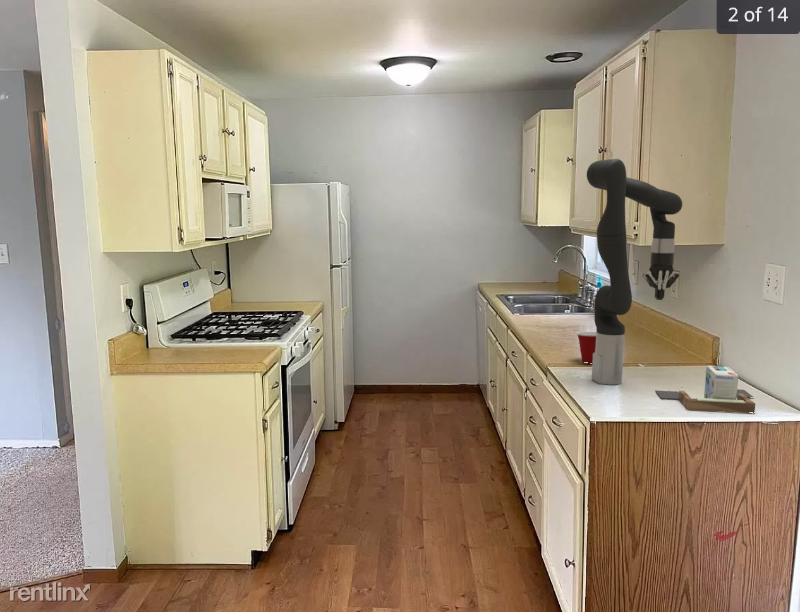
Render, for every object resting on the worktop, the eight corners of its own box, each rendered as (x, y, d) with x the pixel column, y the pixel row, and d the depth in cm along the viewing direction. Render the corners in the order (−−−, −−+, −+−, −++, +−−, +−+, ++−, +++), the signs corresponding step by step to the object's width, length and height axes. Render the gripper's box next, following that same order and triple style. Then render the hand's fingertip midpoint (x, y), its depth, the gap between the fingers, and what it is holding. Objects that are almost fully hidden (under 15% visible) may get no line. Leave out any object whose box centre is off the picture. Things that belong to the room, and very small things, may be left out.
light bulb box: (703, 398, 195) (705, 365, 193) (726, 399, 193) (729, 366, 191) (711, 408, 184) (714, 373, 183) (736, 410, 183) (739, 375, 181)
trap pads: (651, 386, 207) (651, 385, 206) (744, 391, 202) (744, 389, 202) (661, 399, 193) (661, 397, 193) (761, 404, 188) (761, 402, 188)
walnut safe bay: (678, 399, 193) (679, 389, 192) (741, 403, 189) (742, 392, 189) (687, 409, 183) (688, 399, 182) (754, 413, 180) (755, 402, 179)
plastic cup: (598, 358, 244) (599, 329, 242) (608, 365, 233) (610, 335, 232) (571, 359, 244) (572, 329, 242) (580, 366, 233) (581, 335, 231)
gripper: (649, 252, 213) (646, 301, 216) (686, 252, 214) (682, 301, 217) (639, 250, 220) (636, 298, 223) (674, 250, 222) (671, 297, 224)
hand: (659, 299), depth 220 cm, fingers closed
